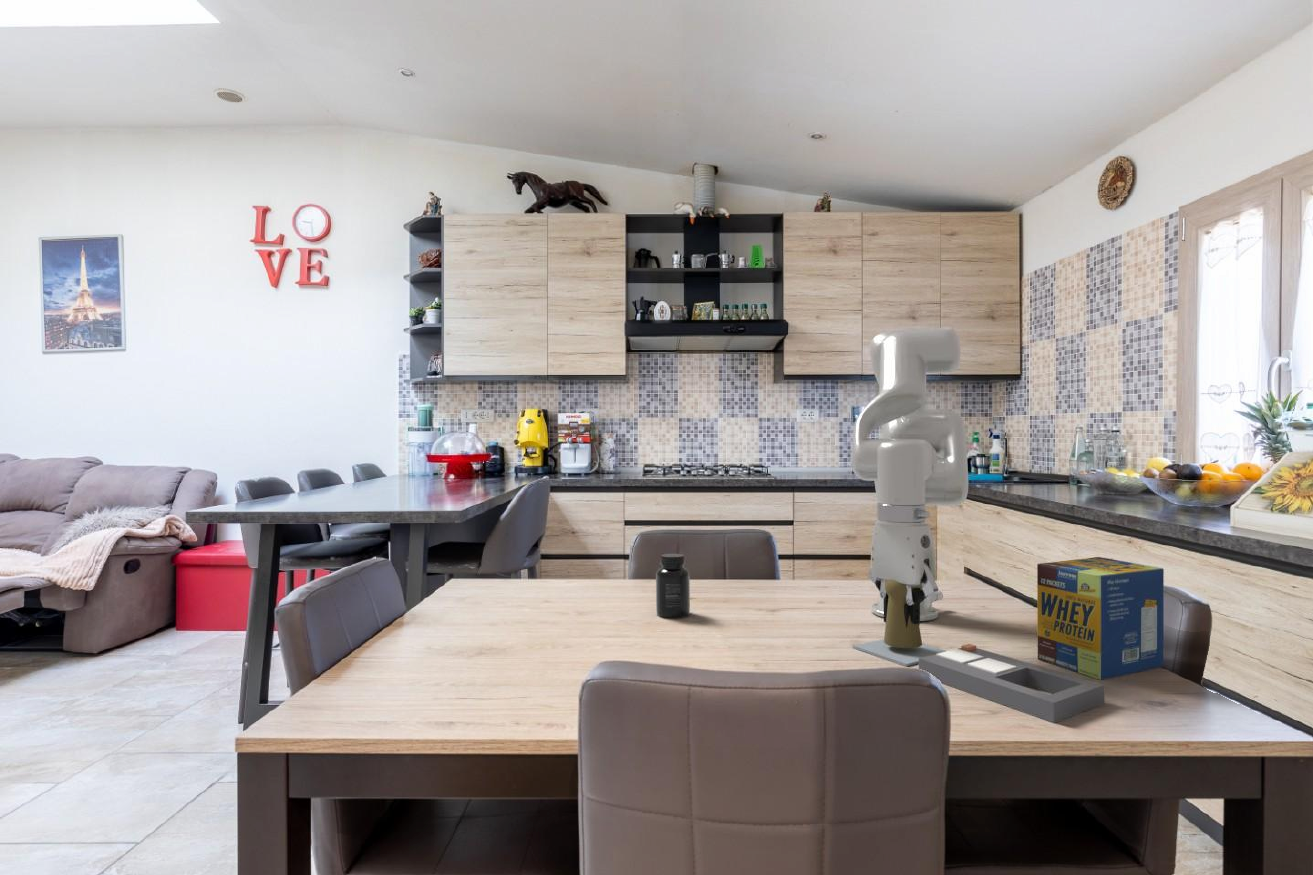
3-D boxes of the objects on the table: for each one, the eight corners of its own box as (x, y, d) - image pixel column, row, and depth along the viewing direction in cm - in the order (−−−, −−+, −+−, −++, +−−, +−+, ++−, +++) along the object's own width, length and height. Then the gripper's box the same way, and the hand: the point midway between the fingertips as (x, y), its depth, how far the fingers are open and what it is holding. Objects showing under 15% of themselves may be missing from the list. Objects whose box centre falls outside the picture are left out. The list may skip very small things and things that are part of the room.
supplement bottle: (696, 613, 139) (695, 554, 139) (679, 620, 133) (678, 559, 133) (667, 608, 142) (667, 551, 142) (649, 615, 137) (649, 556, 137)
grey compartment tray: (969, 661, 108) (969, 642, 108) (1104, 703, 91) (1104, 680, 91) (918, 674, 102) (918, 654, 102) (1053, 722, 85) (1053, 698, 85)
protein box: (1035, 659, 109) (1035, 563, 109) (1099, 647, 115) (1098, 556, 115) (1100, 681, 99) (1100, 575, 99) (1166, 666, 105) (1165, 566, 105)
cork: (877, 638, 116) (876, 574, 116) (912, 637, 116) (910, 572, 117) (893, 648, 110) (891, 580, 110) (929, 647, 110) (927, 579, 111)
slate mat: (897, 638, 121) (897, 635, 121) (951, 654, 111) (951, 652, 111) (853, 647, 115) (853, 645, 115) (906, 666, 106) (906, 663, 106)
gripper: (959, 518, 108) (959, 633, 108) (877, 508, 122) (878, 610, 122) (928, 521, 104) (928, 640, 104) (847, 511, 119) (848, 616, 119)
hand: (901, 623), depth 113 cm, fingers closed on cork, 3 cm apart
